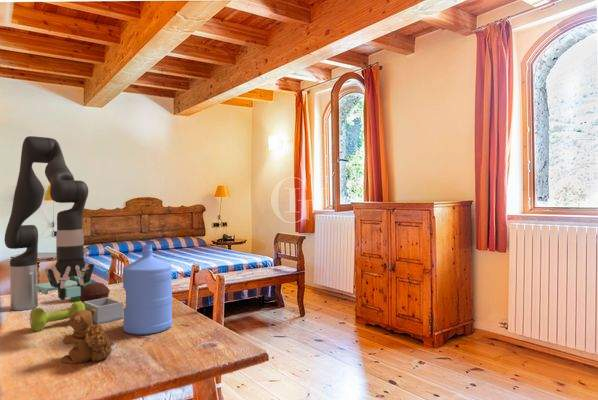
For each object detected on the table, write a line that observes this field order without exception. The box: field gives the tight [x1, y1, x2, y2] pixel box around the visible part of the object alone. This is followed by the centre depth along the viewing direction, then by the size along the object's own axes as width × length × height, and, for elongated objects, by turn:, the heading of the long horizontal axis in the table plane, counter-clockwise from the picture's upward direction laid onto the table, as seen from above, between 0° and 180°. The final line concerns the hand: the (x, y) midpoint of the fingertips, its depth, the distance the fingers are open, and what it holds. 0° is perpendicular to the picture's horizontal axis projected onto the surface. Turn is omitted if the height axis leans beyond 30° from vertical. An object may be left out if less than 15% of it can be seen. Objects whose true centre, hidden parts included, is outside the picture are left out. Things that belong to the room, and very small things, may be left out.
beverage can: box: [69, 270, 92, 303], centre depth 180 cm, size 8×8×12 cm
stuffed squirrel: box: [60, 309, 114, 365], centre depth 114 cm, size 10×14×13 cm
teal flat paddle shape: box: [33, 279, 81, 299], centre depth 136 cm, size 19×11×3 cm, turn 49°
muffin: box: [80, 281, 111, 303], centre depth 166 cm, size 12×11×10 cm
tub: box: [84, 296, 124, 325], centre depth 152 cm, size 12×9×6 cm
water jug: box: [122, 244, 173, 336], centre depth 141 cm, size 16×16×28 cm
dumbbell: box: [29, 301, 85, 332], centre depth 144 cm, size 16×8×7 cm, turn 132°
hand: (70, 298), depth 131 cm, fingers open, 4 cm apart
